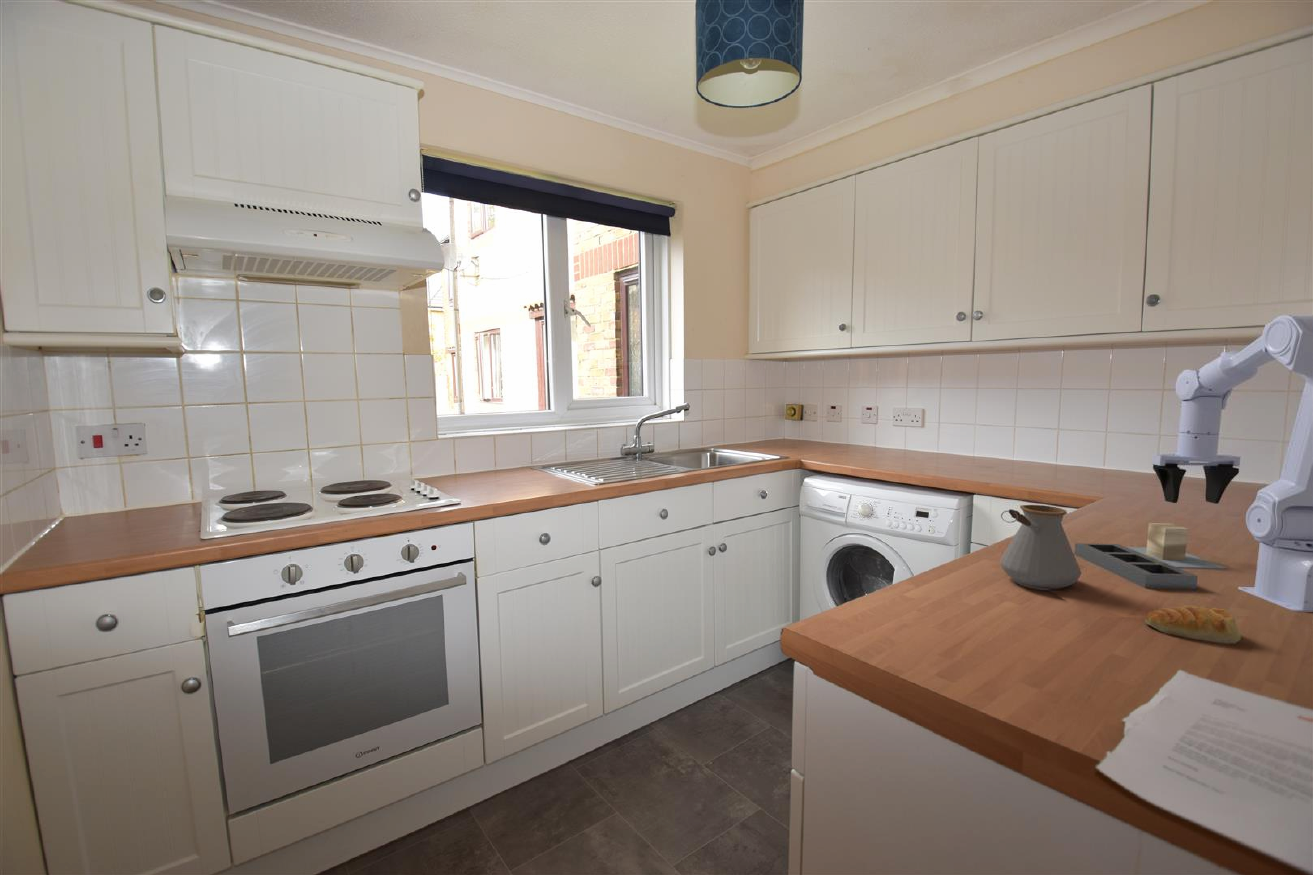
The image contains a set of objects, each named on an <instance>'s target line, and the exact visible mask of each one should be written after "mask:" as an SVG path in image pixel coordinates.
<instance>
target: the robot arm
mask: <svg viewBox="0 0 1313 875" xmlns="http://www.w3.org/2000/svg"><path fill="white" fill-rule="evenodd" d="M1275 360H1276V361H1278V362H1279V363H1280V364H1281V365H1283V366H1284V367H1286V368H1287V369H1288V370H1289V371H1291V372H1295V373H1297V374H1299V375H1301V377H1302V378H1303V380H1305V384H1304V388H1303V392H1302V394H1301V398H1300V401H1299V402H1300V403H1299V407H1298V409H1297V414H1296V418H1295V421H1294V425H1293V429H1292V433H1291V436H1290V440H1289V444H1288V447H1287V451H1286V454H1285V459H1284V462H1283V465H1282V470H1281V473H1280V477H1279V479H1278V480H1276V481H1275V482H1273V483H1271V484H1269V485H1267V486H1264V487H1262V488H1261V489H1260V490H1258V491H1257V494H1256V498H1255V499H1254V502H1253V503H1252V504H1251V505H1250V506H1249V508H1248V509H1247V511H1246V515H1245V523H1246V526H1247V530H1248V531H1249V532H1250V533H1251V536H1253V537H1254V540H1255V541H1258V542H1259V545H1258V547H1259V548H1258V555H1257V563H1256V573H1255V581H1254V586H1238V587H1237V589H1238V590H1240V591H1242V592H1245V593H1248V594H1250V595H1252V596H1256V597H1257V598H1260V599H1262V600H1265V601H1267V602H1269V603H1272V604H1275V605H1277V606H1280V607H1283V608H1285V609H1286V610H1287V609H1288V610H1291V611H1294V612H1297V613H1298V612H1300V613H1301V612H1302V613H1303V612H1304V613H1313V315H1291V314H1284V315H1280V316H1277V317H1275V318H1274V319H1273V320H1272V321H1271V322H1268V323H1266V324H1265V326H1264V329H1263V331H1262V335H1260V336H1259V337H1258V338H1256V339H1255V340H1254V341H1253V342H1251V343H1250V344H1249V345H1247V346H1246V347H1244V348H1243V349H1242V350H1241V351H1238V350H1224V351H1223V352H1221V353H1220V356H1219V357H1217V358H1215V359H1214V360H1212V361H1210V362H1208V363H1205V365H1203V366H1202V367H1201V368H1199V369H1184V370H1182V372H1181V373H1179V375H1178V376H1177V379H1176V381H1175V394H1176V396H1177V397H1178V399H1180V400H1181V405H1180V414H1179V415H1180V418H1179V426H1178V436H1177V448H1176V452H1175V453H1167V454H1166V453H1165V454H1162V453H1161V454H1152V462H1151V464H1152V470H1154V472H1155V474H1156V476H1157V478H1158V480H1159V482H1160V484H1161V488H1162V492H1163V493H1162V494H1163V496H1164V497H1163V498H1164V501H1165V502H1168V503H1171V504H1172V503H1173V504H1177V503H1178V500H1179V496H1180V490H1181V484H1182V481H1183V479H1184V477H1185V474H1187V473H1186V472H1187V469H1186V468H1180V466H1202V469H1203V471H1204V476H1205V495H1204V496H1205V502H1206V503H1207V502H1208V503H1210V504H1211V503H1212V504H1215V505H1216V504H1219V503H1220V501H1221V498H1222V496H1223V494H1224V493H1225V490H1226V489H1227V488H1228V486H1229V484H1230V483H1231V482H1232V480H1234V478H1235V477H1237V476H1238V475H1239V472H1240V468H1238V467H1240V464H1241V456H1237V455H1232V454H1230V455H1228V454H1218V447H1219V438H1220V437H1219V436H1220V427H1221V416H1222V410H1225V409H1226V407H1227V403H1228V402H1227V401H1228V399H1229V397H1231V394H1232V391H1233V389H1234V388H1236V387H1237V386H1239V385H1241V384H1243V383H1245V382H1247V381H1249V380H1251V379H1253V378H1254V376H1256V374H1257V372H1258V368H1259V367H1261V366H1264V365H1265V364H1268V363H1270V362H1272V361H1275Z"/></svg>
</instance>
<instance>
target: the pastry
mask: <svg viewBox="0 0 1313 875" xmlns="http://www.w3.org/2000/svg"><path fill="white" fill-rule="evenodd" d="M1144 623H1146V624H1147V625H1149V626H1151V628H1154V629H1156V630H1157V631H1159V632H1161V633H1164V634H1165V635H1166V634H1167V635H1174V636H1178V637H1180V638H1181V637H1182V638H1186V639H1189V640H1194V641H1197V640H1198V641H1203V642H1212V643H1218V644H1227V645H1228V644H1231V645H1233V644H1234V645H1235V644H1237V643H1238V642H1240V641H1241V637H1242V636H1241V633H1240V632H1241V631H1240V628H1239V626H1238V625H1237V623H1236V619H1235V617H1234V615H1233V614H1232V613H1231V612H1229V611H1228V610H1227V609H1223V608H1217V607H1212V608H1207V607H1202V606H1195V605H1186V604H1185V605H1180V606H1177V607H1172V608H1168V607H1163V608H1162V607H1161V608H1160V609H1155V610H1150V611H1149V612H1148V613H1147V614H1146V616H1145V619H1144Z"/></svg>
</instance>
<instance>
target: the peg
mask: <svg viewBox="0 0 1313 875" xmlns="http://www.w3.org/2000/svg"><path fill="white" fill-rule="evenodd" d="M1188 531H1189V528H1187V527H1183V526H1180V525H1177V524H1174V523H1169V522H1168V523H1166V522H1165V523H1164V522H1163V523H1162V522H1161V523H1159V522H1149V523H1148V530H1147V541H1146V548H1147V549H1146V553H1147V554H1149V555H1152V556H1154V557H1157V558H1160V559H1162V560H1185V554H1186V553H1187V552H1186V551H1187V545H1188V543H1187V542H1188V534H1189V532H1188Z"/></svg>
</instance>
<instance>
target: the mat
mask: <svg viewBox="0 0 1313 875" xmlns="http://www.w3.org/2000/svg"><path fill="white" fill-rule="evenodd" d="M1126 547H1127V548H1129V549H1132V550H1134V551H1137V552H1139V553H1142V554H1144V555H1147V556H1149V557H1152V558H1154V559H1157V560H1159V561H1162V562H1164V563H1167V564H1169V565H1172V566H1174V567H1177V568H1179V569H1202V570H1203V569H1205V570H1206V569H1207V570H1209V569H1211V570H1215V569H1217V570H1228V569H1227V568H1228V567H1226V566H1223V565H1221V564H1218V563H1215V562H1213V561H1210V560H1207V559H1204V558H1202V557H1199V556H1196V555H1193V554H1191V553H1188V552H1186V554H1185V560H1162V559H1160V558H1157V557H1154V556H1152V555H1149V554H1147V553H1146V549H1147V546H1145V547H1137V546H1136V547H1135V546H1134V547H1133V546H1131V547H1130V546H1126Z"/></svg>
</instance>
